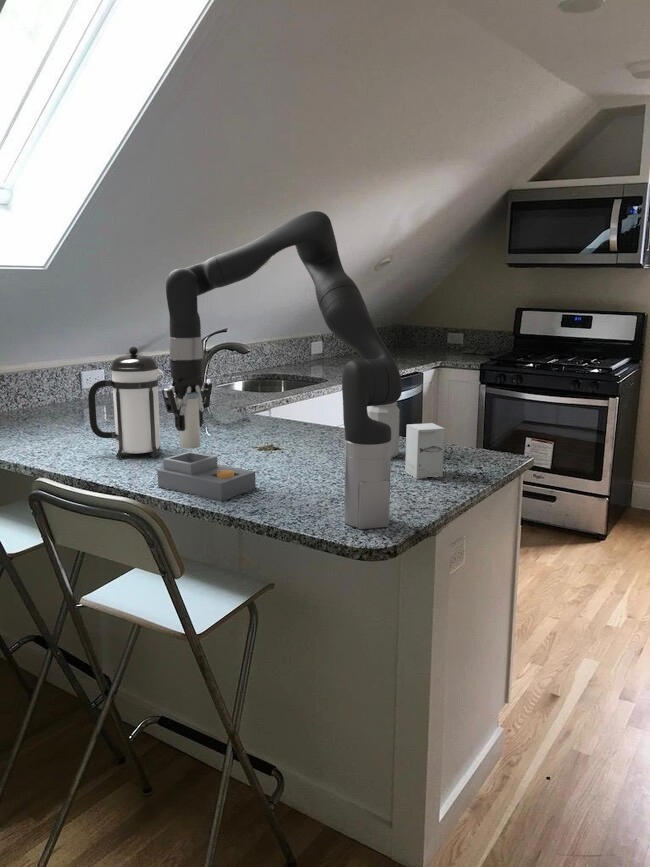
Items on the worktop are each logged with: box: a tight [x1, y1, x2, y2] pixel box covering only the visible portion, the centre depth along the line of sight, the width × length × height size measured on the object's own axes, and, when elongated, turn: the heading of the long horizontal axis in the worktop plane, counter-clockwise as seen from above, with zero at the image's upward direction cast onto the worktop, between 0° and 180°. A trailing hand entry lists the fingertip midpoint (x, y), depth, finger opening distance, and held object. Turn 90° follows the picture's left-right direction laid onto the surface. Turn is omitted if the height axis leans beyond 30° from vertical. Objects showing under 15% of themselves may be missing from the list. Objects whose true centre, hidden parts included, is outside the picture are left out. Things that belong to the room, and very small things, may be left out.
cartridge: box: [178, 392, 201, 450], centre depth 174 cm, size 5×5×13 cm
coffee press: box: [87, 346, 165, 460], centre depth 202 cm, size 17×16×30 cm
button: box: [217, 470, 234, 479], centre depth 171 cm, size 4×4×4 cm
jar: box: [367, 401, 401, 459], centre depth 203 cm, size 10×10×18 cm
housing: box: [156, 451, 257, 502], centre depth 174 cm, size 20×12×6 cm, turn 56°
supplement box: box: [404, 422, 445, 480], centre depth 184 cm, size 7×7×13 cm
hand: (189, 428), depth 174 cm, fingers closed on cartridge, 4 cm apart
